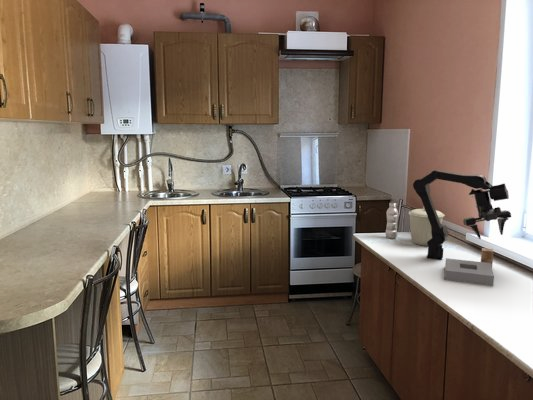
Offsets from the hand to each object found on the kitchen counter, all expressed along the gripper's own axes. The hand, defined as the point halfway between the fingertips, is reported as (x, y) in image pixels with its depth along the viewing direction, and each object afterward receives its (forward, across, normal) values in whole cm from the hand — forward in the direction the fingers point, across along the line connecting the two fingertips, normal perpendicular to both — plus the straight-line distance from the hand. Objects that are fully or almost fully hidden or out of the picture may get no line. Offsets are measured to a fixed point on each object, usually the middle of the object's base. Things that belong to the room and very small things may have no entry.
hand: (490, 236), depth 196 cm
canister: (+4, -23, +37) cm, 44 cm away
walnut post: (+13, -4, +1) cm, 14 cm away
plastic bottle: (-1, -39, +46) cm, 60 cm away
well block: (+12, -16, -13) cm, 24 cm away
